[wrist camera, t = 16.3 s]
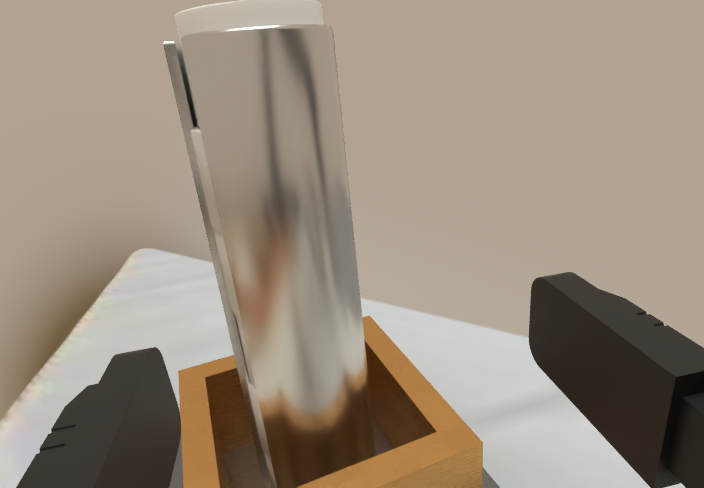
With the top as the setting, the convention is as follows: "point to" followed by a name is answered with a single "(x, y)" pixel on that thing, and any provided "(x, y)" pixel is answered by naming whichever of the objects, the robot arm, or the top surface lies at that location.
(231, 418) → the dock
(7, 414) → the top surface
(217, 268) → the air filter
